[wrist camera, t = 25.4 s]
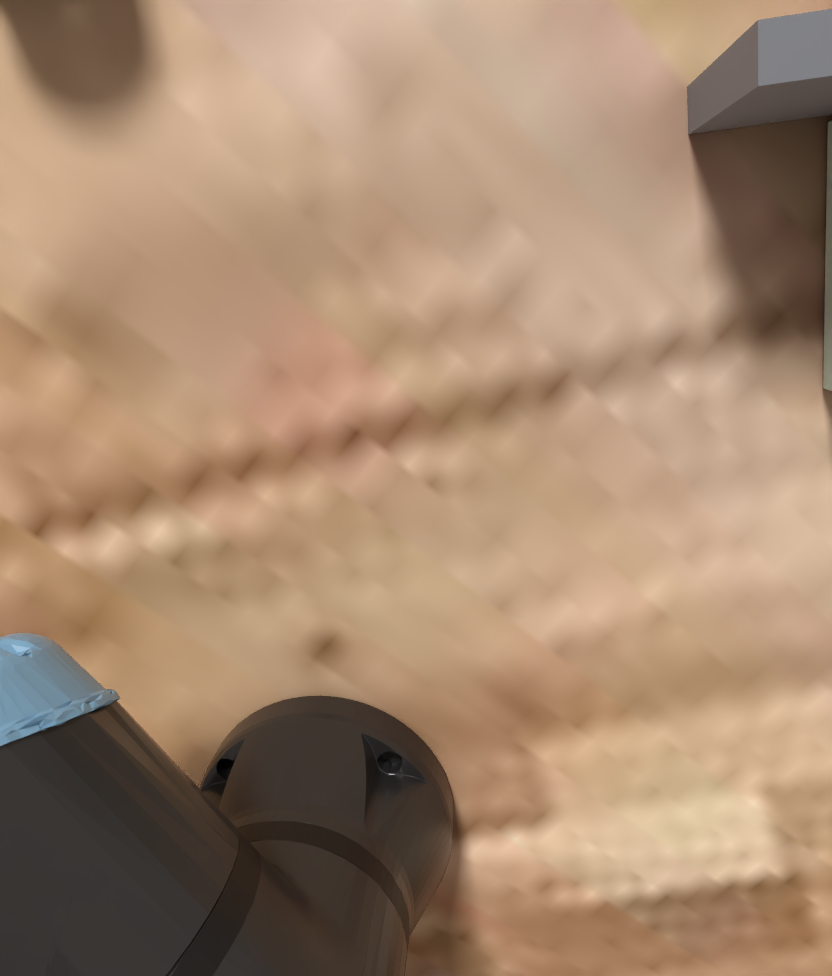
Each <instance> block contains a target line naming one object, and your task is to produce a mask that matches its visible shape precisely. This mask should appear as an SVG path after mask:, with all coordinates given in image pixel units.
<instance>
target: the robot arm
mask: <svg viewBox="0 0 832 976" xmlns="http://www.w3.org/2000/svg"><path fill="white" fill-rule="evenodd" d="M119 699H120V696H119V695H118V694H117V692H116V691H114V690H109V689H105V688H104V687H103V686H102V685H101V684H100V683H98V682H97V681H96V680H95V679H94V678H93V677H92V676H91V675H90V674H89V673H88V672H87V671H86V670H85V669H84V668H82V667H81V666H80V665H79V664H78V663H77V662H76V661H75V660H74V659H73V658H72V657H71V656H70V655H69V654H68V653H67V652H66V651H65V650H64V649H63V648H62V647H61V646H59V645H58V644H57V643H55V642H54V641H53V640H51V639H49V638H47V637H44V636H41V635H38V634H32V633H16V634H11V635H7V636H3V637H0V976H405V967H406V958H407V949H408V942H409V936H410V935H411V933H412V931H413V929H414V928H415V926H416V924H417V922H418V921H419V919H420V917H421V915H422V914H423V912H424V910H425V908H426V907H427V905H428V903H429V901H430V900H431V898H432V896H433V894H434V893H435V891H436V889H437V887H438V886H439V884H440V882H441V880H442V878H443V876H444V873H445V871H446V867H447V864H448V861H449V857H450V853H451V847H452V836H453V823H454V806H453V798H452V793H451V789H450V786H449V783H448V780H447V777H446V775H445V773H444V770H443V769H442V767H441V765H440V763H439V761H438V760H437V758H436V757H435V755H434V754H433V752H432V751H431V750H430V748H429V747H428V746H427V745H426V744H425V743H424V741H423V740H422V739H421V738H420V737H419V736H418V735H417V734H416V733H414V732H413V731H412V730H411V729H410V728H408V727H407V726H406V725H405V724H403V723H402V722H400V721H399V720H397V719H396V718H394V717H392V716H391V715H389V714H387V713H385V712H383V711H381V710H379V709H377V708H375V707H372V706H370V705H367V704H364V703H361V702H357V701H354V700H350V699H344V698H339V697H330V696H306V697H298V698H292V699H287V700H283V701H280V702H277V703H274V704H271V705H269V706H266V707H264V708H262V709H260V710H258V711H256V712H255V713H253V714H251V715H250V716H248V717H247V718H245V719H244V720H243V721H242V722H240V723H239V724H238V725H237V726H236V727H235V728H234V729H233V730H232V731H231V732H230V733H229V734H228V736H227V737H226V738H225V740H224V741H223V742H222V744H221V746H220V747H219V749H218V751H217V752H216V754H215V756H214V758H213V759H212V761H211V763H210V765H209V766H208V768H207V770H206V772H205V775H204V777H203V780H202V782H201V785H200V789H199V788H198V787H197V786H196V785H195V784H194V783H193V782H192V780H191V779H190V778H189V777H188V776H187V775H186V774H185V773H184V772H183V771H182V770H181V769H180V768H179V767H178V766H177V765H176V763H175V762H174V761H173V760H172V759H171V758H170V757H169V756H168V755H167V754H166V753H165V752H164V751H163V750H162V749H161V747H160V746H159V745H158V744H157V743H156V742H155V741H154V740H153V739H152V738H151V737H150V736H149V735H148V734H147V733H146V731H145V730H144V729H143V728H142V727H141V726H140V725H139V724H138V723H137V722H136V721H135V720H134V719H133V718H132V717H131V715H130V714H129V713H128V712H127V711H126V710H125V709H124V708H123V707H122V706H121V705H120V704H119V703H118V702H117V700H119Z"/></svg>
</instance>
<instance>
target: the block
mask: <svg viewBox="0 0 832 976" xmlns="http://www.w3.org/2000/svg"><path fill="white" fill-rule="evenodd" d="M823 388H824V389H827V390H830V391H832V120H831V121H829V122H828V144H827V201H826V258H825V314H824V371H823Z"/></svg>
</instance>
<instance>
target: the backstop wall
mask: <svg viewBox="0 0 832 976" xmlns="http://www.w3.org/2000/svg"><path fill="white" fill-rule="evenodd" d="M687 96H688V134H695V133H703V132H710V131H717V130H724V129H732V128H739V127H746V126H754V125H761V124H768V123H776V122H783V121H790V120H798V119H805V118H812V117H820V116H827V115H832V9H828V10H821V11H815V12H808V13H802V14H795V15H788V16H782V17H775V18H769V19H762V20H758V21H757V22H755V23H754V24H753V25H752V26H751V27H750V28H749V29H748V30H747V31H746V32H745V33H744V34H743V35H742V36H741V37H740V38H739V39H737V40H736V41H735V42H734V43H733V44H732V45H731V46H730V47H729V48H728V49H727V50H726V51H725V52H724V53H723V54H722V55H721V56H719V57H718V58H717V59H716V60H715V61H714V62H713V63H712V64H711V65H710V66H709V67H708V68H707V69H706V70H705V71H704V72H703V73H701V74H700V75H699V76H698V77H697V78H696V79H695V80H694V81H693V82H692V83H691V84H690V85H689V86H688V87H687Z"/></svg>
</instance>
